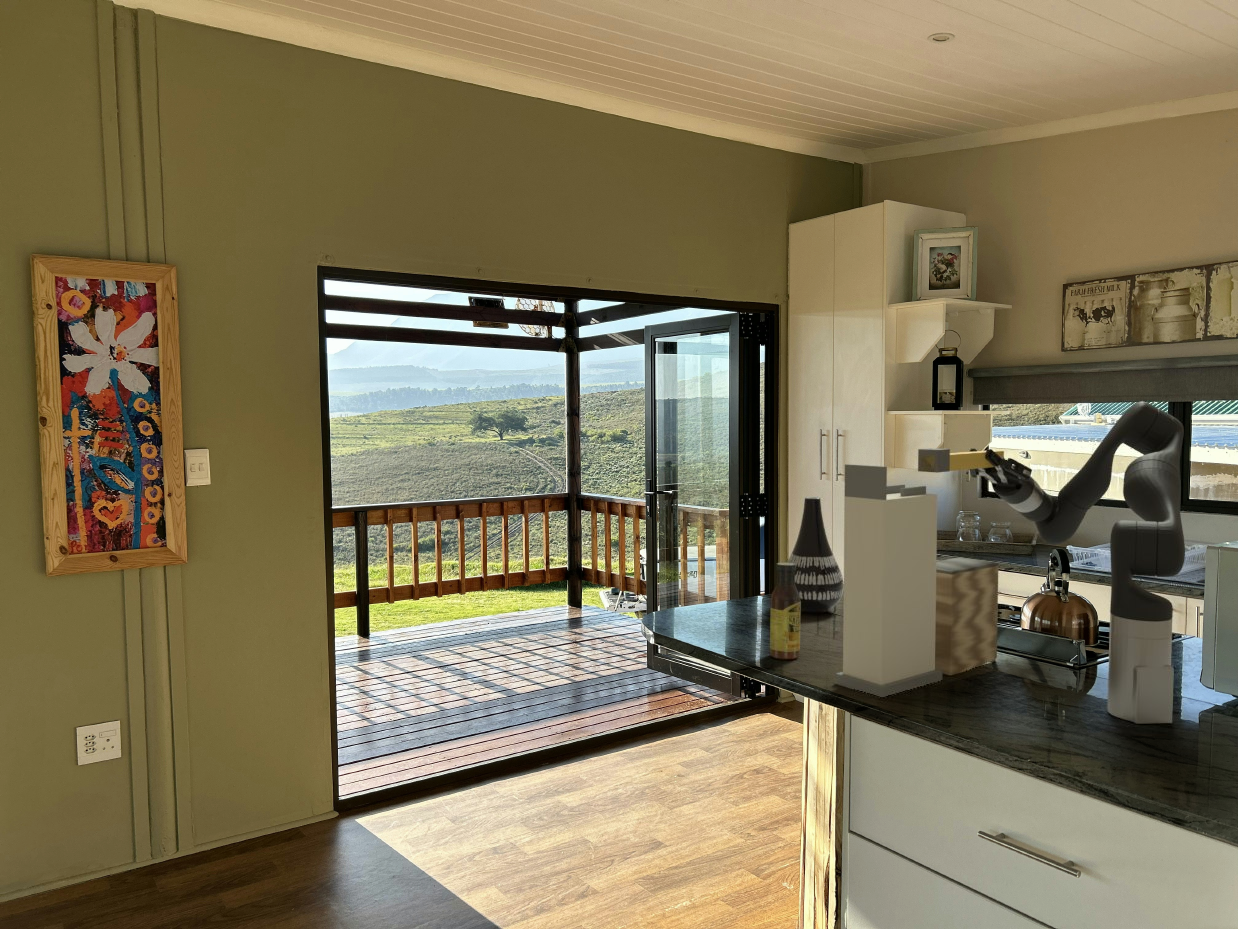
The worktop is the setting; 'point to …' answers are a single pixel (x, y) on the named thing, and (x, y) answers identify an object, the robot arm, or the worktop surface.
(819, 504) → the vase
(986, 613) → the block
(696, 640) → the worktop surface
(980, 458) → the plug rod
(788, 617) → the sauce bottle
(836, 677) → the socket tower
